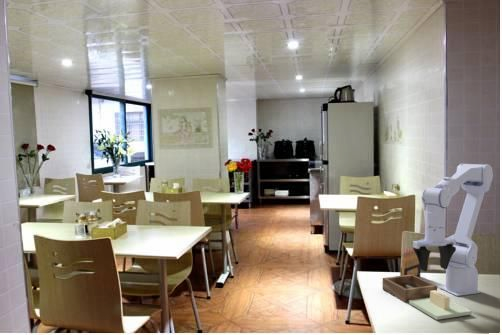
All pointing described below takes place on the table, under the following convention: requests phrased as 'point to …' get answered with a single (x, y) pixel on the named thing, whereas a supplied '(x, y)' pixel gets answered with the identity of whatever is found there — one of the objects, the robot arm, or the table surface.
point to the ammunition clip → (410, 263)
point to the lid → (440, 306)
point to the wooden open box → (408, 287)
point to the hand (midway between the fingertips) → (433, 269)
